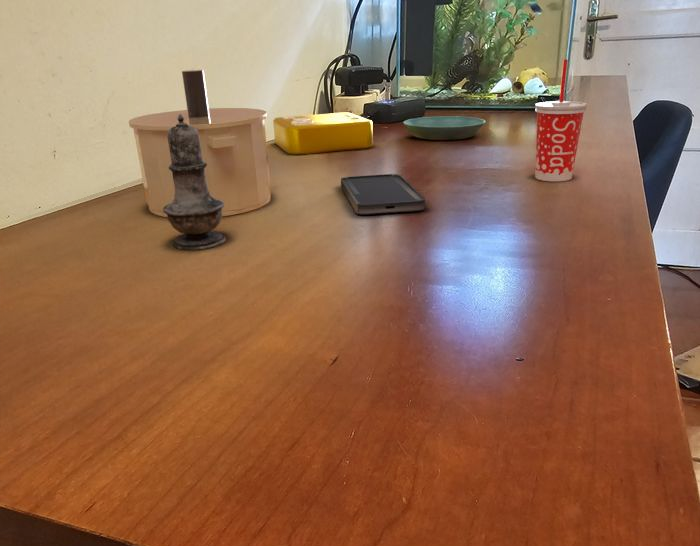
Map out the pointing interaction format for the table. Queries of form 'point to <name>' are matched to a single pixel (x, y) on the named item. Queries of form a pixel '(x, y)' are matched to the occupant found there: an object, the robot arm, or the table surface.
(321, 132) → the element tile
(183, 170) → the salt shaker
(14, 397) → the table surface
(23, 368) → the table surface
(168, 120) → the pot lid
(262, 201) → the pot
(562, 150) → the beverage cup
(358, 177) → the phone
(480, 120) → the saucer
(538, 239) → the table surface
